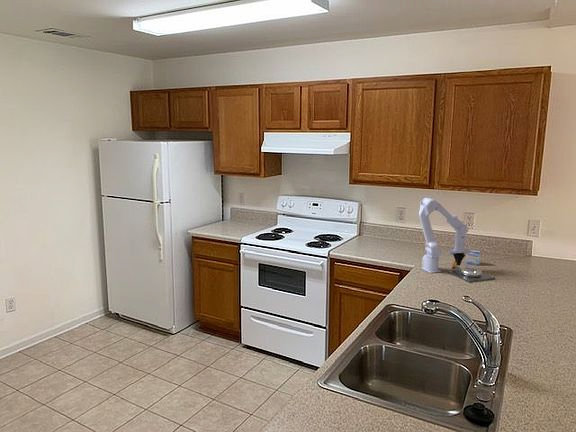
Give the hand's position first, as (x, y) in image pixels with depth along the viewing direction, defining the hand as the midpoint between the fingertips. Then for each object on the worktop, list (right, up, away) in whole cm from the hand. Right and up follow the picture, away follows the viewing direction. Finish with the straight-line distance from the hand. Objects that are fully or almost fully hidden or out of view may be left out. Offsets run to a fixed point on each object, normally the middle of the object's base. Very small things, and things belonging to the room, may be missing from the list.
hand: (457, 265), depth 265 cm
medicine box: (+15, -1, +14) cm, 20 cm away
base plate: (+4, -5, -9) cm, 11 cm away
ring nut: (+2, -4, -7) cm, 8 cm away
